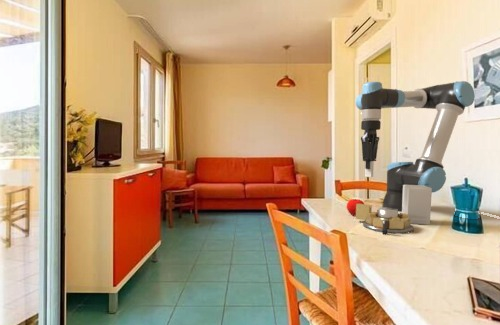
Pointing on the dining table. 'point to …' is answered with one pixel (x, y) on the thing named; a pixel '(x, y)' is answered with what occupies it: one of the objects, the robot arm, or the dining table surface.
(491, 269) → the dining table surface
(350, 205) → the apple
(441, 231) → the dining table surface
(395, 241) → the dining table surface
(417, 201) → the supplement box
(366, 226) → the hub base
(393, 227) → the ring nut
